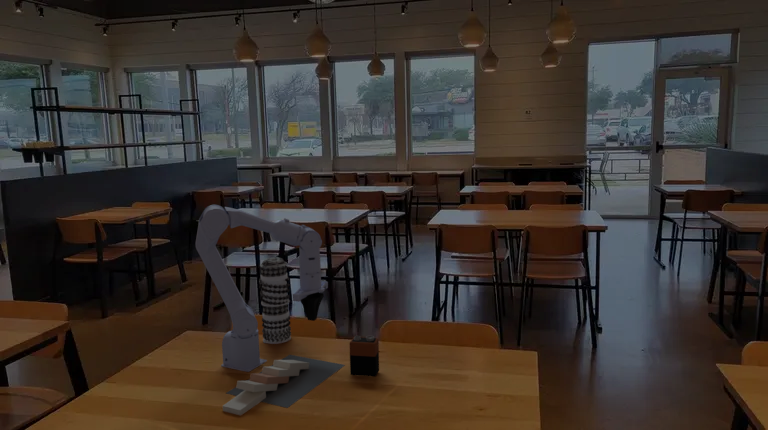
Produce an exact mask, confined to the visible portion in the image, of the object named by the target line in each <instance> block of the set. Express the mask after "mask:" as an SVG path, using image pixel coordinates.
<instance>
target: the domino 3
mask: <svg viewBox="0 0 768 430" xmlns="http://www.w3.org/2000/svg"><path fill="white" fill-rule="evenodd" d="M249 379H250V380H249V381H254V382H259V383H263V384H280V383H288V381H289V376H284V377H277V376H272V375H267V374H262V373H260V372H258V373H250V376H249Z"/></svg>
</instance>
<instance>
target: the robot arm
mask: <svg viewBox="0 0 768 430" xmlns="http://www.w3.org/2000/svg"><path fill="white" fill-rule="evenodd" d="M197 225H198V226H197V232H196V237H195V238H196V239H195V249H196V251H197V253H198V255H199V257H200V258H201V259H200V260H202V262H203V264H204V267H205V268H206V270H207V272H208V274H209V276H210V277H211V280H212V282H213V284H214V285H215V287H216V289H217V291H218V294H219V295H220V297H221V299H222V301H223V303H224V305H225V306H226V309H227V311H228V313H229V315H230V320H231V322H232V330H229V331H227V332H226V333H225V335H224V336H223V338H222V342H221V348H222V350H221V351H222V364H221V365H220V367H223V368H229V369H233V370H237V371H241V372H246V373H247V372H248V373H250V372H251V371H253V370H255V369H256V368H258V367H259V366H261V365H264V364H265V363H266V362H267V361H268V360H267V359H264V358H261V357H260V356H261V355H260V353H261V352H260V335H259V329H258V326H259V325H258V324H259V323H258V320H257V318H256V316H255V312H254V309H253V308H252V307H251V306H249V305H248V304H247V303H246V302H245V299H244V298H243V296H242V295H241V293H240V291H239V289H238V287H237V285H236V283H235V281H234V279H233V277H232V275H231V273H230V271H229V270H228V269H229V268H227V266H226V263H225V262H224V260H223V258H222V255H221V254H220V252H219V250H218V248H217V244H218V241H219V239H220V236H222V234H223V233H224V232H225V231H226V230H227V228H228V226H229V227H230V229H233V228H237V227H240V226H243V227H246V228H251V229H254V230H257V231H260V232H263V233H264V232H265V233H267V234H270V236H271V238H272V240H274V241H277V242H279V243H284V244H287V245H291V246H294V247H298V246H299V247H298V249H299V250H298V251H299V256H298V257H299V259H298V260H299V261H298V262H299V263H298V264H299V265H298V266H299V285H300V286H299V288H298V289H297V291H295V292H294V293H292V302H297V303H298V302H300V303H301V305H302V307H303V309H304V313H305V315H306V318H307V321H313V322H315V321H316V320H317V319H318V313H319V308H320V305H321V303H322V300H323V298H324V293H323V292H325V290H327V289H328V288H329V281H326V280H325V281H324V280H322V275H321V274H322V273H321V272H322V271H321V270H322V269H321V268H322V267H321V266H322V265H321V253H320V251H321V249H320V248H321V247H322V244H323V240H322V238H321V234H319V232H317V231H316V230H314V228H312V227H309V226H306V225H305V224H301V225H299V224H298V223H293V222H290V219H288V218H286V217H284V218H283V219H277V220H274V221H271V220H269V219H266V218H263V217H260V216H258V215H255V214H253V213H250V212H246V211H244V210H240V209H237V208H233V207H228V206H224V207H223V206H221V205H219V204H211V205H208V206H206V207H205V208H204V210H203V211H202V213H201V215H200V216H199V218H198V224H197Z"/></svg>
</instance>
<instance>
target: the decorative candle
mask: <svg viewBox="0 0 768 430" xmlns="http://www.w3.org/2000/svg"><path fill="white" fill-rule="evenodd" d="M287 266H288V262H286V261H285V260H284V258H282V257H269V258H265V259H264V260H263V261H262V263H260V264H259V267H260V275H259V276H260V278H259V280H258V284H259V285H258V288H259V290H260V291H259V295H260V297H259V299H260V300H261V302H260V304H261V306H262V318H261V322H262V323H261V326H262V330H261V331H262V338H263V339H262V342H263V344H271V345H273V344H274V345H275V344H276V345H277V344H278V345H279V344H282V343H283V344H284V343H286V342H289V341H290V340H292V339H291V338H292V331H291V330H292V327H291V326H290V325H291V321H290V320H291V316H290V310H289V303H290V298H291V297H290V295H289V294H288V293H289V292H291V289H290V288H289V287H290V286H291V284H290V283H288V281H290V279H291V278H290V277H289V276H288V272H287Z"/></svg>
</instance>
